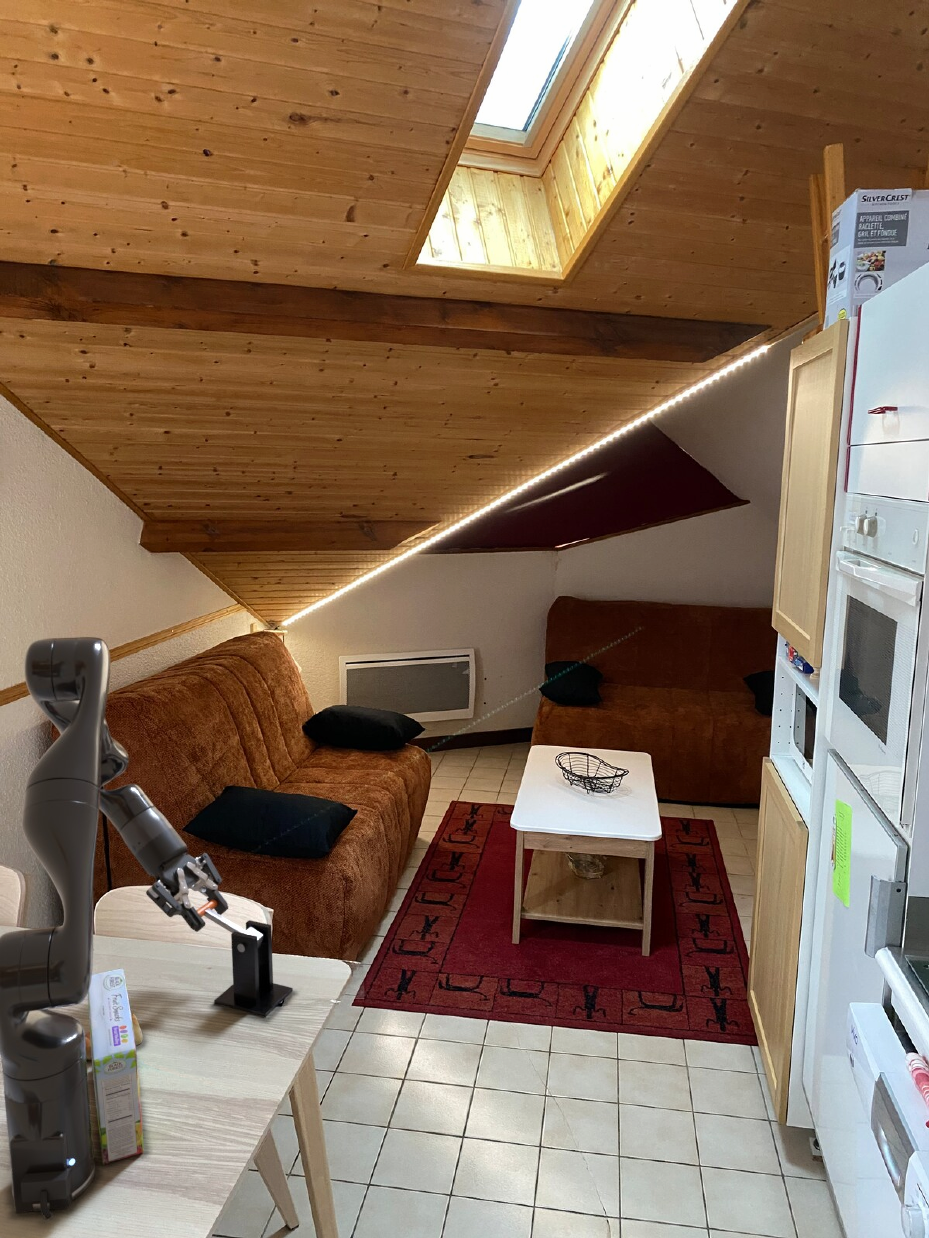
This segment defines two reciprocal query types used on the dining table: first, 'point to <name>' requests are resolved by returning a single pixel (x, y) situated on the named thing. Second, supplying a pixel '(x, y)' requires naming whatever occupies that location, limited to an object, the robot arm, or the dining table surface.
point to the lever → (226, 921)
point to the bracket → (253, 974)
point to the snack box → (114, 1067)
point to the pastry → (137, 1037)
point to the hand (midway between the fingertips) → (213, 919)
